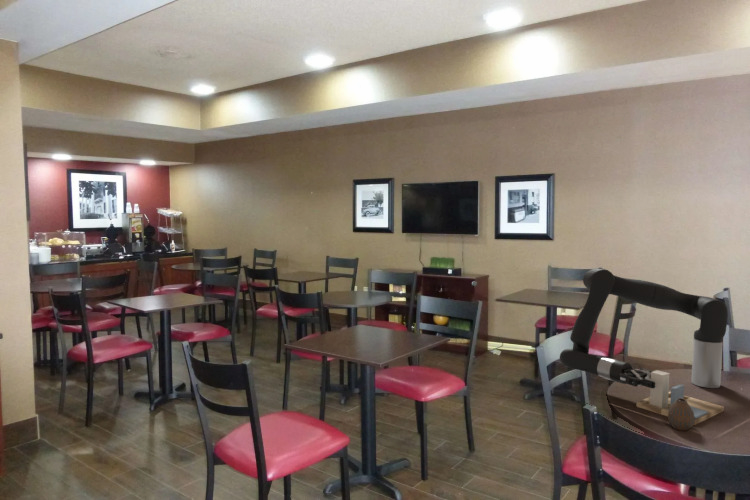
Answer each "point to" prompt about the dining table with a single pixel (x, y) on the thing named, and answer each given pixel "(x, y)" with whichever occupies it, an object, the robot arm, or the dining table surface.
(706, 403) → the puzzle board
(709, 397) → the dining table surface
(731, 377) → the dining table surface
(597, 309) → the robot arm
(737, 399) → the dining table surface
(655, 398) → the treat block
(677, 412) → the vase
